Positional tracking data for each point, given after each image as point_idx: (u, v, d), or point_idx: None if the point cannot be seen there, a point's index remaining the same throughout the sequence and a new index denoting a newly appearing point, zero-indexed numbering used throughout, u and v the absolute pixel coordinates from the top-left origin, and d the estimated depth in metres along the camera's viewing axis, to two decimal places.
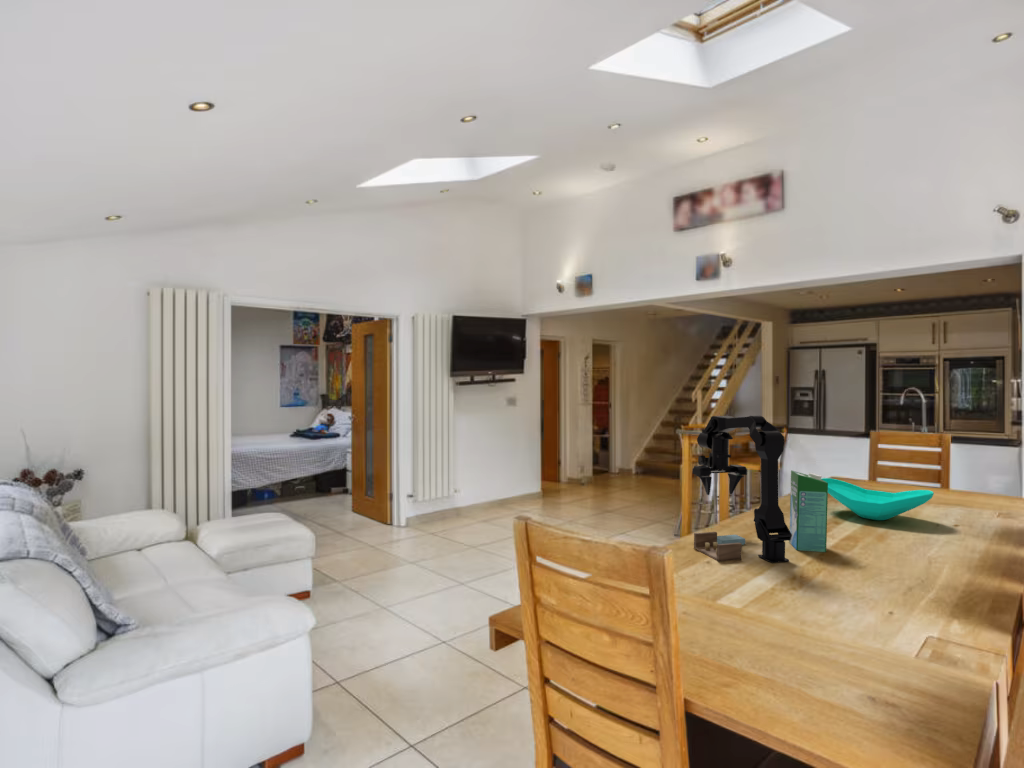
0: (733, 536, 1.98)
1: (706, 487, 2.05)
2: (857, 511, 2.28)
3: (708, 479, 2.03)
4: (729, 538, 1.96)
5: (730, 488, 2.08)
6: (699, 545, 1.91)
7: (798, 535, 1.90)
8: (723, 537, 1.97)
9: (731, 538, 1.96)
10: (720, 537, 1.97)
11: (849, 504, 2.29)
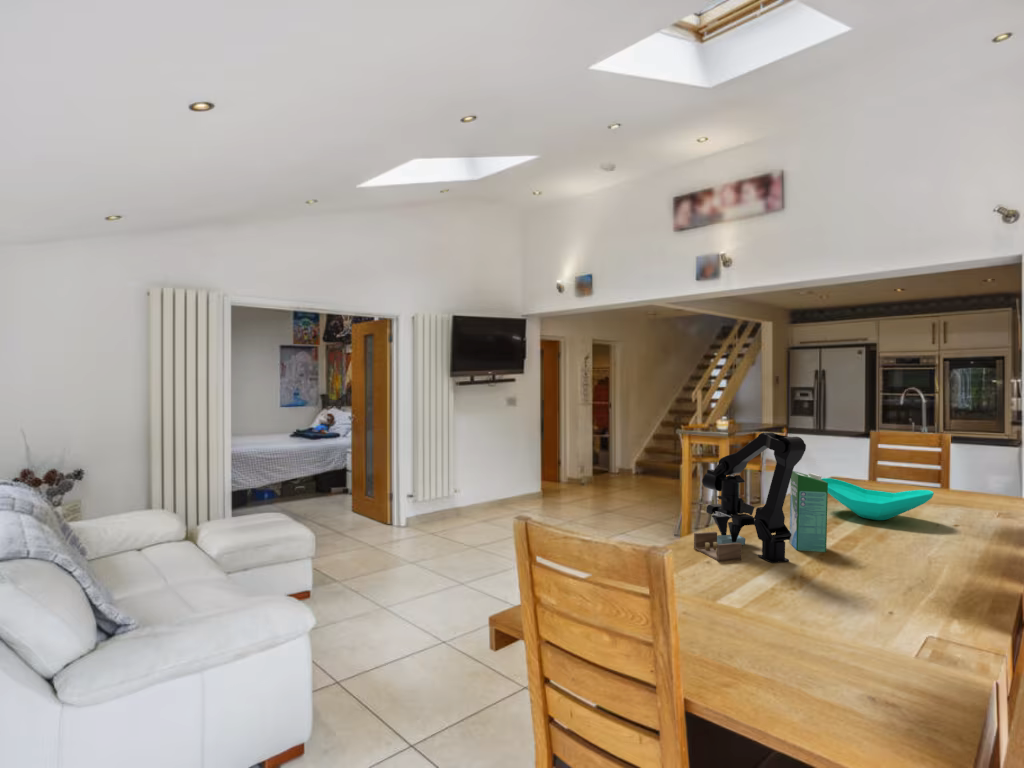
0: None
1: None
2: (857, 511, 2.28)
3: (714, 519, 2.01)
4: (729, 538, 1.96)
5: None
6: (699, 545, 1.91)
7: (798, 535, 1.90)
8: (723, 536, 1.97)
9: None
10: (720, 536, 1.97)
11: (849, 504, 2.29)
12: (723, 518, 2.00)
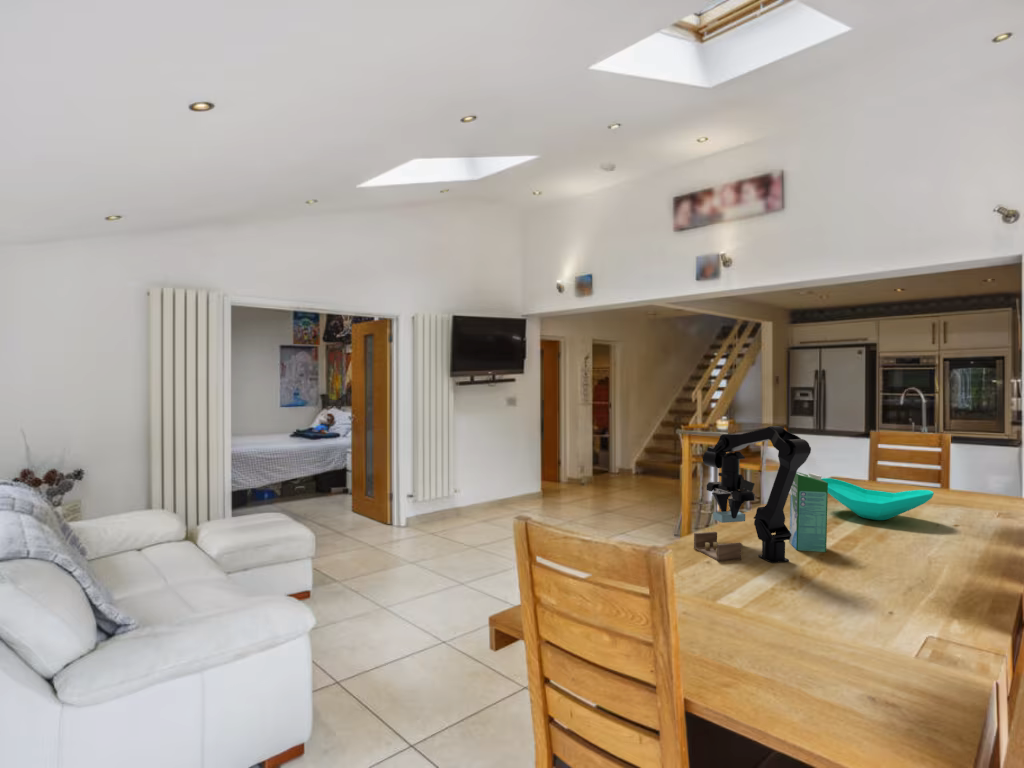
0: None
1: None
2: (857, 511, 2.28)
3: (714, 496, 2.00)
4: (730, 514, 1.96)
5: None
6: (699, 545, 1.91)
7: (798, 535, 1.90)
8: (723, 513, 1.97)
9: None
10: (720, 513, 1.97)
11: (849, 504, 2.29)
12: (723, 495, 2.00)
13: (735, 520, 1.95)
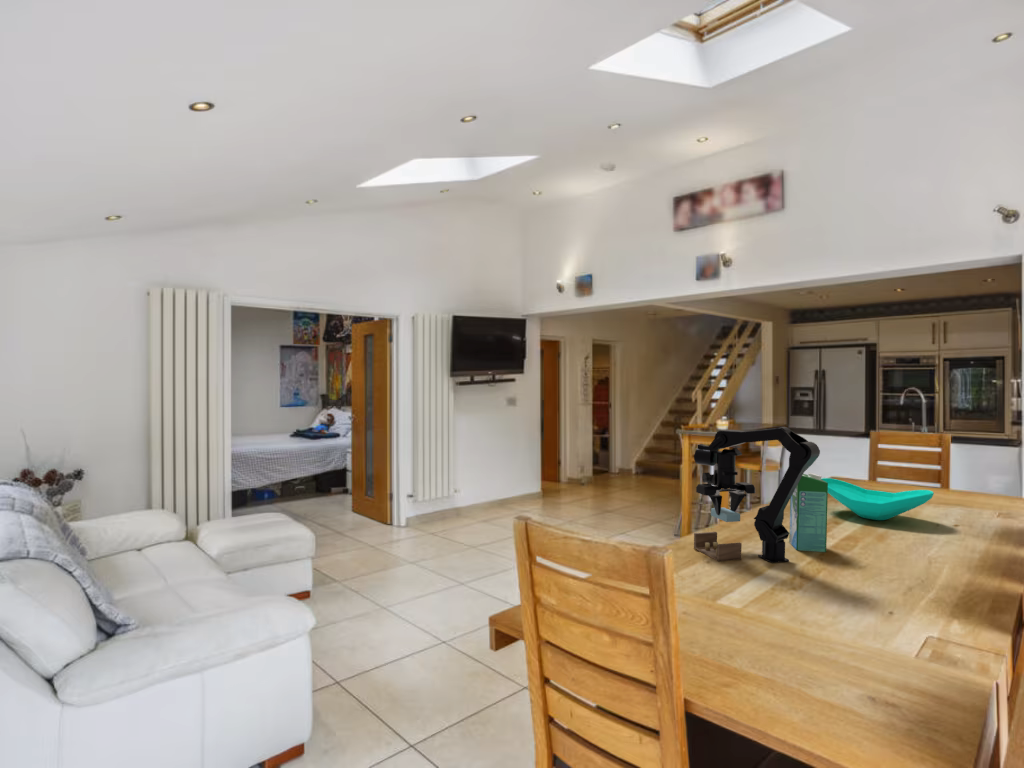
0: None
1: (716, 507, 1.91)
2: (857, 511, 2.28)
3: (718, 498, 1.89)
4: (730, 511, 1.92)
5: (732, 508, 1.93)
6: (699, 545, 1.91)
7: (798, 535, 1.90)
8: (727, 512, 1.91)
9: (728, 510, 1.93)
10: (728, 513, 1.90)
11: (849, 504, 2.29)
12: None
13: None
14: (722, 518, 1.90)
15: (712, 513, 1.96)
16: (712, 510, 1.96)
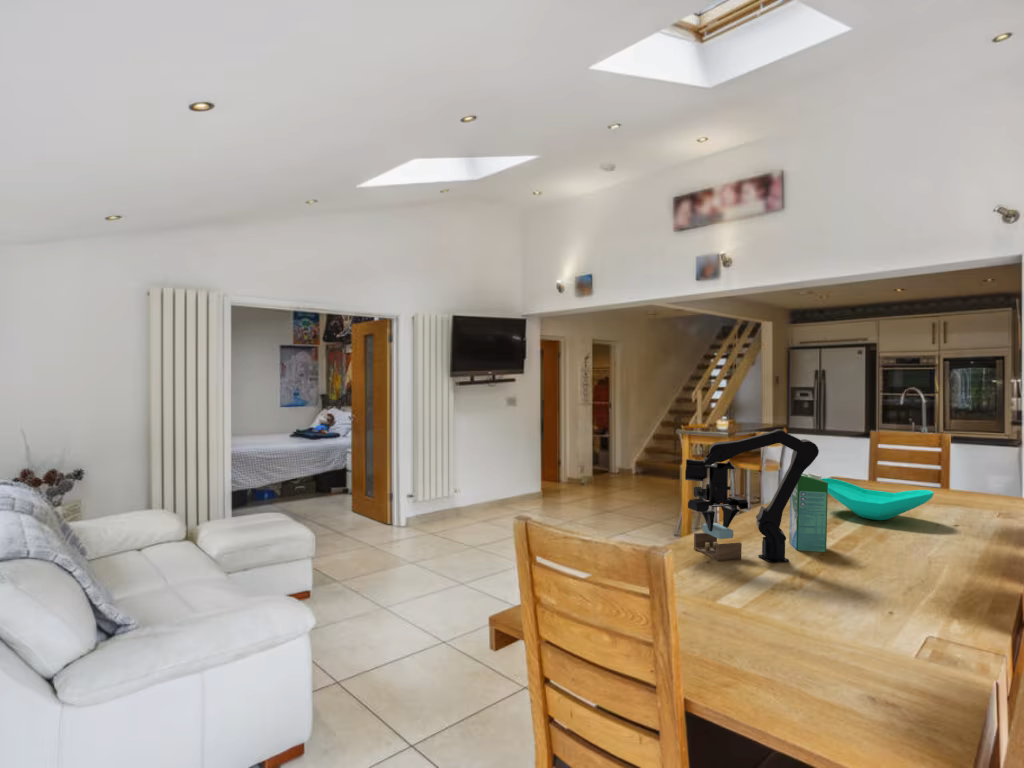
0: None
1: (708, 523, 1.84)
2: (857, 511, 2.28)
3: (711, 514, 1.82)
4: (722, 527, 1.85)
5: (724, 524, 1.86)
6: (699, 545, 1.91)
7: (798, 535, 1.90)
8: (720, 528, 1.84)
9: (720, 526, 1.86)
10: (721, 529, 1.82)
11: (849, 504, 2.29)
12: None
13: None
14: (714, 535, 1.83)
15: (704, 529, 1.88)
16: (704, 526, 1.88)
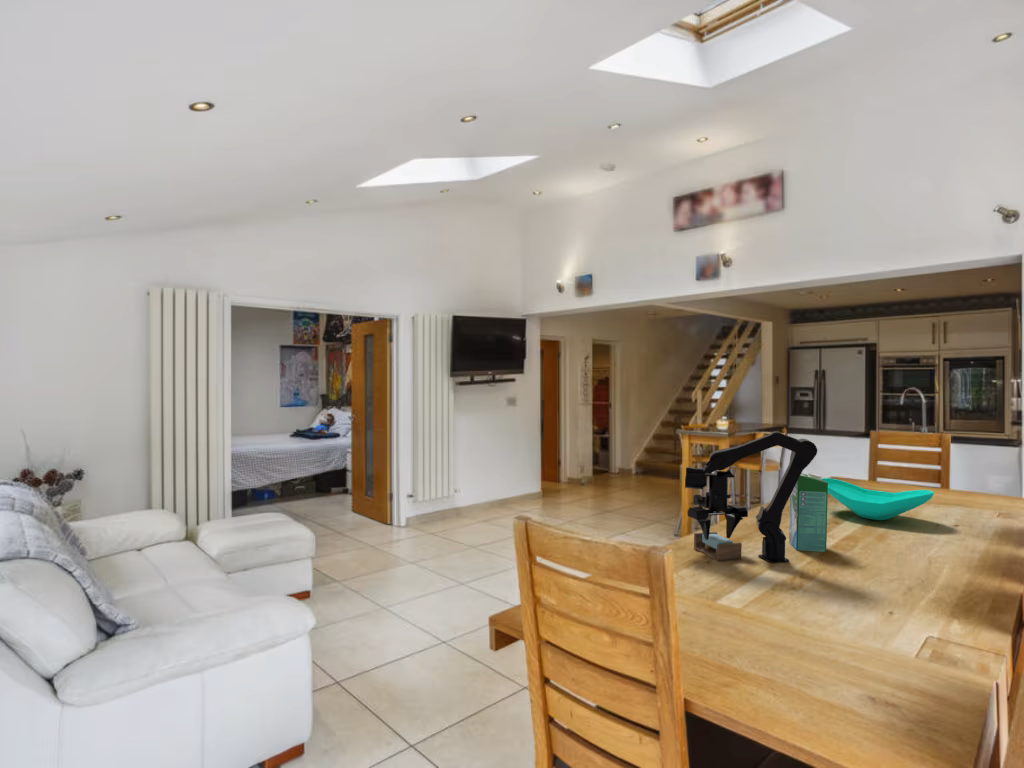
0: (711, 536, 1.88)
1: (704, 531, 1.84)
2: (857, 511, 2.28)
3: (707, 523, 1.81)
4: (722, 538, 1.85)
5: (727, 532, 1.86)
6: (699, 545, 1.91)
7: (798, 535, 1.90)
8: (719, 539, 1.84)
9: (720, 537, 1.86)
10: (720, 540, 1.83)
11: (849, 504, 2.29)
12: None
13: None
14: (714, 546, 1.83)
15: (703, 540, 1.88)
16: (703, 537, 1.88)
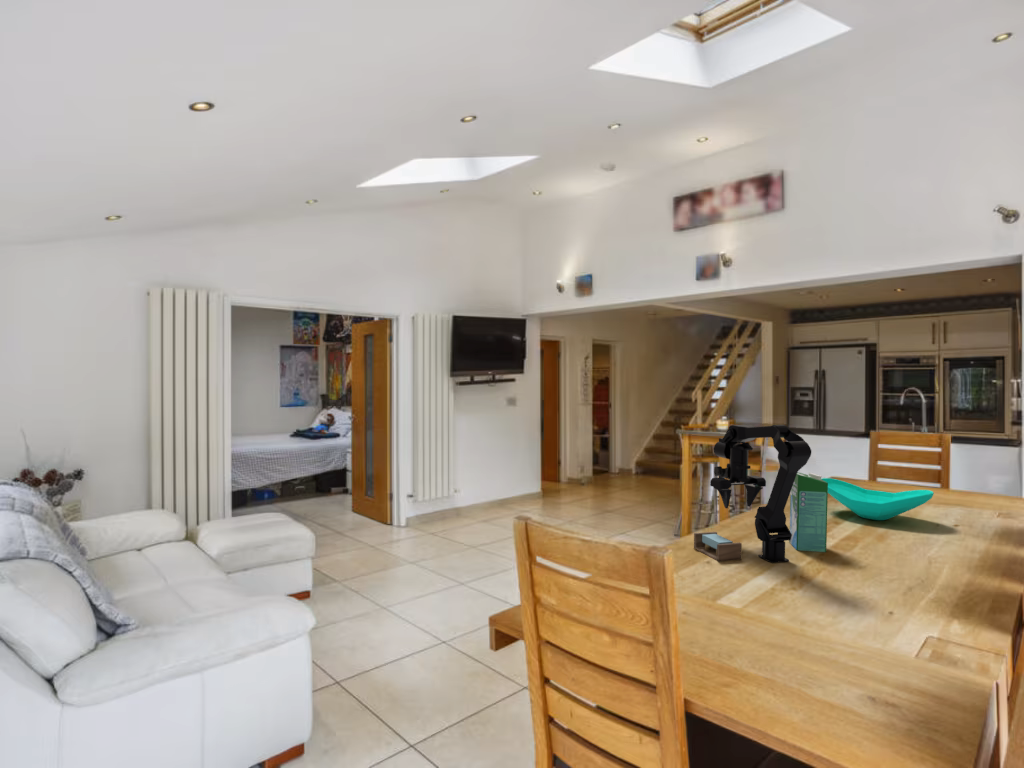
0: (711, 536, 1.88)
1: (725, 500, 1.95)
2: (857, 511, 2.28)
3: (728, 492, 1.92)
4: (722, 538, 1.85)
5: (748, 501, 1.99)
6: (699, 545, 1.91)
7: (798, 535, 1.90)
8: (719, 539, 1.84)
9: (720, 537, 1.86)
10: (720, 540, 1.83)
11: (849, 504, 2.29)
12: None
13: None
14: (714, 546, 1.83)
15: (703, 540, 1.88)
16: (703, 537, 1.88)
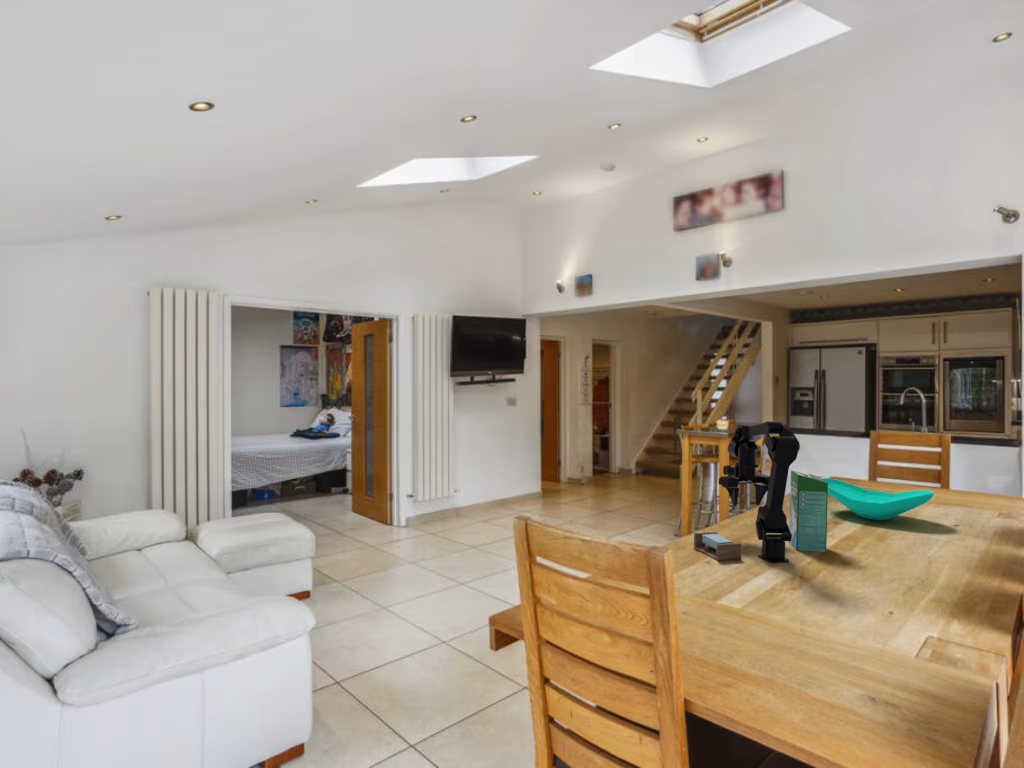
0: (711, 536, 1.88)
1: (733, 498, 1.99)
2: (857, 511, 2.28)
3: (736, 490, 1.97)
4: (722, 538, 1.85)
5: (757, 499, 2.02)
6: (699, 545, 1.91)
7: (798, 535, 1.90)
8: (719, 539, 1.84)
9: (720, 537, 1.86)
10: (720, 540, 1.83)
11: (849, 504, 2.29)
12: None
13: None
14: (714, 546, 1.83)
15: (703, 540, 1.88)
16: (703, 537, 1.88)
